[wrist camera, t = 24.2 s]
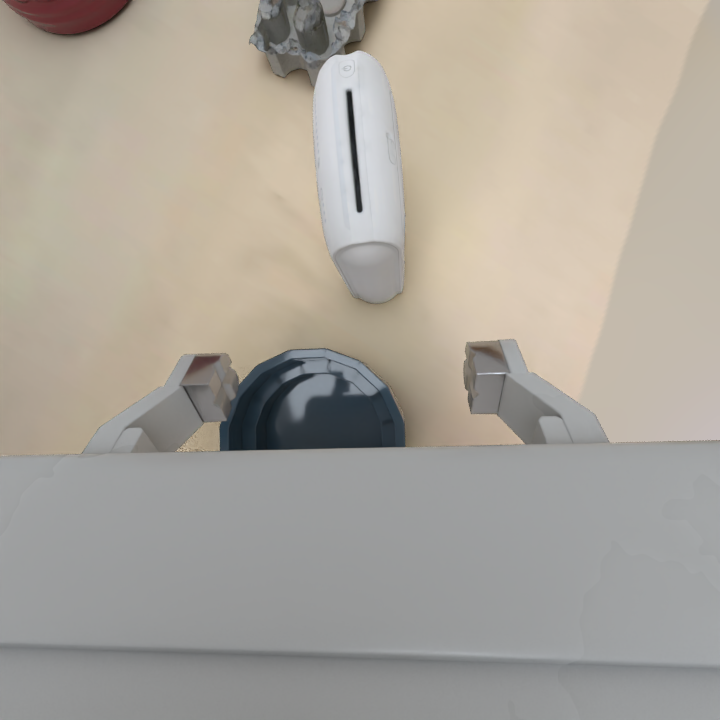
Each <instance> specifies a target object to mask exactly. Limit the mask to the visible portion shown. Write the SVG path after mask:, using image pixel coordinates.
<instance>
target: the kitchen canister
mask: <svg viewBox="0 0 720 720" xmlns="http://www.w3.org/2000/svg"><path fill="white" fill-rule="evenodd" d="M3 1H4V2H5V3H6V4H7V5H8V6H9V7H10V8H11V9H12V10H13V11H15V12H16V13H17V14H19V15H20V16H22V17H24V18H26V19H27V20H28V21H29V22H31V23H32V24H33V25H35V26H37V27H38V28H40V29H43V30H45V31H48V32H52V33H57V34H75V33H80V32H84V31H88V30H90V29H93V28H95V27H97V26H100V25H101V24H103V23H105V22H106V21H108V20H109V19H111V18H112V17H113V16H114V15H115V14H117V13H118V12H119V11H120V10H121V9H122V8H123V6H124V5H125V4H126V3H127V1H128V0H3Z"/></svg>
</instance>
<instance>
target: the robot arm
mask: <svg viewBox="0 0 720 720" xmlns="http://www.w3.org/2000/svg"><path fill="white" fill-rule="evenodd" d="M465 353H466V358H467V359H466V360H465V361H464V368H463V374H464V384H465V389H466V390H467V391H468V403H469V407H470V412H471V414H498V416H499V417H500V418H501V419H502V420H503V421H504V422H505V423H506V424H507V425H508V426H509V427H510V428H511V429H512V430H513V431H514V433H515V434H516V435H517V436H518V437H519V438H520V439H521V440H522V441H523V442H524V443H525V444H526V445H479V446H438V447H387V448H338V449H293V450H247V451H201V452H175V451H177V450H178V449H179V448H180V447H181V446H182V445H183V444H184V443H185V442H186V441H187V440H188V439H189V438H190V437H191V436H192V435H193V434H194V433H195V432H196V431H197V430H198V429H199V428H200V427H201V426H202V425H203V424H204V423H203V422H221V421H227V419H228V417H229V414H230V412H231V409H232V405H231V402H230V401H232V400H233V399H234V398H235V397H236V396H237V393H238V387H239V381H238V376H237V373H236V371H235V370H233V369H232V368H231V367H230V364H231V359H230V357H229V355H228V354H226V353H211V354H185V355H183V356H181V358H180V360H179V361H178V363H177V365H176V366H175V368H174V370H173V371H172V373H171V375H170V377H169V378H168V380H167V382H166V383H165V385H164V387H159V388H157V389H156V390H154V391H153V392H151V393H150V394H148V395H147V396H145V397H144V398H142V399H141V400H139V401H138V402H136V403H135V404H133V405H132V406H130V407H129V408H127V409H126V410H124V411H123V412H121V413H120V414H119V415H117V416H116V417H114V418H113V419H111V420H110V421H108V422H107V423H105V424H104V425H102V426H101V427H99V428H98V430H97V431H96V433H95V434H94V436H93V437H92V439H91V440H90V442H89V443H88V445H87V446H86V448H85V449H84V451H83V452H82V454H58V455H9V456H0V720H720V440H712V441H668V442H621V443H610V442H609V440H608V438H607V437H606V435H605V433H604V431H603V429H602V427H601V425H600V423H599V421H598V419H597V417H596V415H595V414H594V413H593V412H591V411H590V410H588V409H587V408H585V407H584V406H582V405H581V404H579V403H578V402H576V401H575V400H573V399H572V398H570V397H569V396H567V395H566V394H565V393H563V392H562V391H560V390H559V389H557V388H556V387H554V386H553V385H551V384H550V383H548V382H547V381H545V380H544V379H542V378H541V377H539V376H538V375H536V374H535V373H529V372H528V370H527V367H526V365H525V362H524V360H523V357H522V355H521V352H520V350H519V347H518V345H517V342H516V340H514V339H506V340H498V341H497V340H496V341H477V342H467V343H466V348H465Z"/></svg>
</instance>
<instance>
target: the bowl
mask: <svg viewBox="0 0 720 720" xmlns="http://www.w3.org/2000/svg"><path fill="white" fill-rule="evenodd" d="M230 402H231V405H232V409H231V412H230V414H229V417H228V419H227V421H221V424H220V451H247V450H293V449H338V448H387V447H405V423H404V414H403V412H402V410H401V408H400V406H399V403H398V401H397V399H396V397H395V395H394V393H393V390H392V388H391V386H390V385H389V384H388V383H387V382H386V381H385V380H384V379H383V378H382V377H380V376H379V375H378V374H377V373H376V372H375V371H374V370H373V369H372V368H371V367H370V366H369V365H367V364H366V363H364V362H362V361H359V360H357V359H354V358H351V357H349V356H346V355H343V354H340V353H338V352H335V351H332V350H330V349H326V348H318V349H296V350H288V351H286V352H284V353H282V354H280V355H277V356H275V357H273V358H271V359H269V360H267V361H265V362H263V363H261V364H258V365H257V366H256V367H255V368H254V369H253V370H252V371H251V372H250V373H249V374H248V376H247V377H246V378H245V379H244V380H243V381H242V382H241V383H240V384H239V387H238V393H237V396H236V397H235V398H234V399H233V400H232V401H230Z"/></svg>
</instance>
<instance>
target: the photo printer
mask: <svg viewBox="0 0 720 720" xmlns="http://www.w3.org/2000/svg"><path fill="white" fill-rule="evenodd" d="M313 139H314V154H315V167H316V178H317V188H318V197H319V205H320V212H321V219H322V226H323V232H324V236H325V240H326V244H327V247H328V251H329V253H330V256H331V258H332V261H333V262H334V264H335V266H336V268H337V270H338V271H339V273H340V275H341V277H342V279H343V280H344V282H345V284H346V285H347V287H348V289H349V291H350V292H351V294H352V296H353V297H354V298H361V299H362V300H364V301H366V302H369V303H376V304H379V303H384V302H387V301H389V300H391V299H392V298H393V297H395V296H396V294H398V293H402V291H403V285H404V264H405V261H404V241H405V216H406V215H405V204H404V187H403V173H402V161H401V150H400V141H399V132H398V124H397V115H396V109H395V103H394V99H393V95H392V91H391V87H390V84H389V81H388V78H387V76H386V73H385V71H384V69H383V67H382V66H381V64H380V63H379V62H378V61H377V60H376V59H375V58H374V57H372V56H371V55H370V54H368V53H366V52H363V51H360V50H359V51H355V52H353V53H351V54H348V55H334V56H332V57H330V58H329V59H328V60H327V61H326V62H325V63H324V65H323V66H322V68H321V69H320V71H319V74H318V77H317V81H316V85H315V90H314V97H313Z"/></svg>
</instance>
